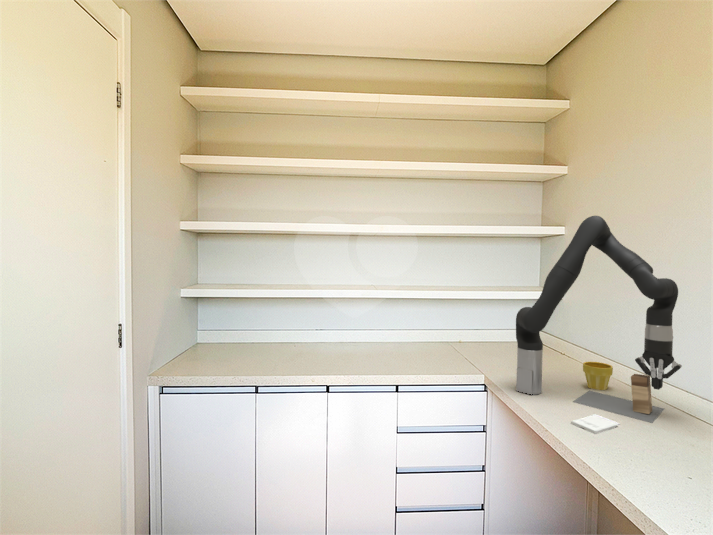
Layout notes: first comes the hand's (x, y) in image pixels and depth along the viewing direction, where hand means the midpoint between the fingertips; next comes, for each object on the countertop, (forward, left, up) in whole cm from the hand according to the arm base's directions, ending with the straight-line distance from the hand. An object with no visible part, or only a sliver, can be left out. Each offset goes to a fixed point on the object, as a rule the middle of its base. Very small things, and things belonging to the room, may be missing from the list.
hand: (656, 388), depth 134 cm
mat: (0, +11, -10) cm, 15 cm away
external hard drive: (-23, +12, -10) cm, 27 cm away
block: (0, +4, -9) cm, 10 cm away
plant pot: (+16, +23, -10) cm, 30 cm away
